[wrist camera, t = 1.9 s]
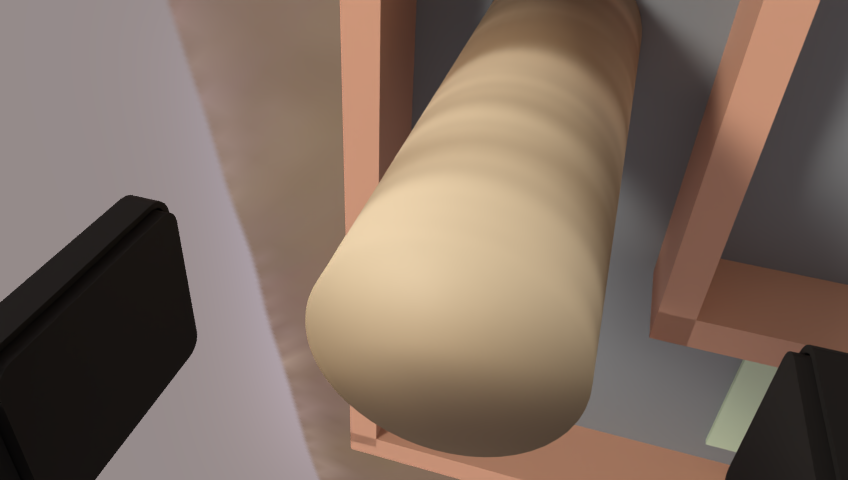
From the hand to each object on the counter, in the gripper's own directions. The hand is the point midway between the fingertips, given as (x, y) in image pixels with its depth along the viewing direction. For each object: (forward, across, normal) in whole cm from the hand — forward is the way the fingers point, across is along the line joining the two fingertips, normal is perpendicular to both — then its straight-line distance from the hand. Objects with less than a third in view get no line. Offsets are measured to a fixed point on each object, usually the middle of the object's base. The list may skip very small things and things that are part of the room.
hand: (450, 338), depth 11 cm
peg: (+11, 0, -1) cm, 11 cm away
